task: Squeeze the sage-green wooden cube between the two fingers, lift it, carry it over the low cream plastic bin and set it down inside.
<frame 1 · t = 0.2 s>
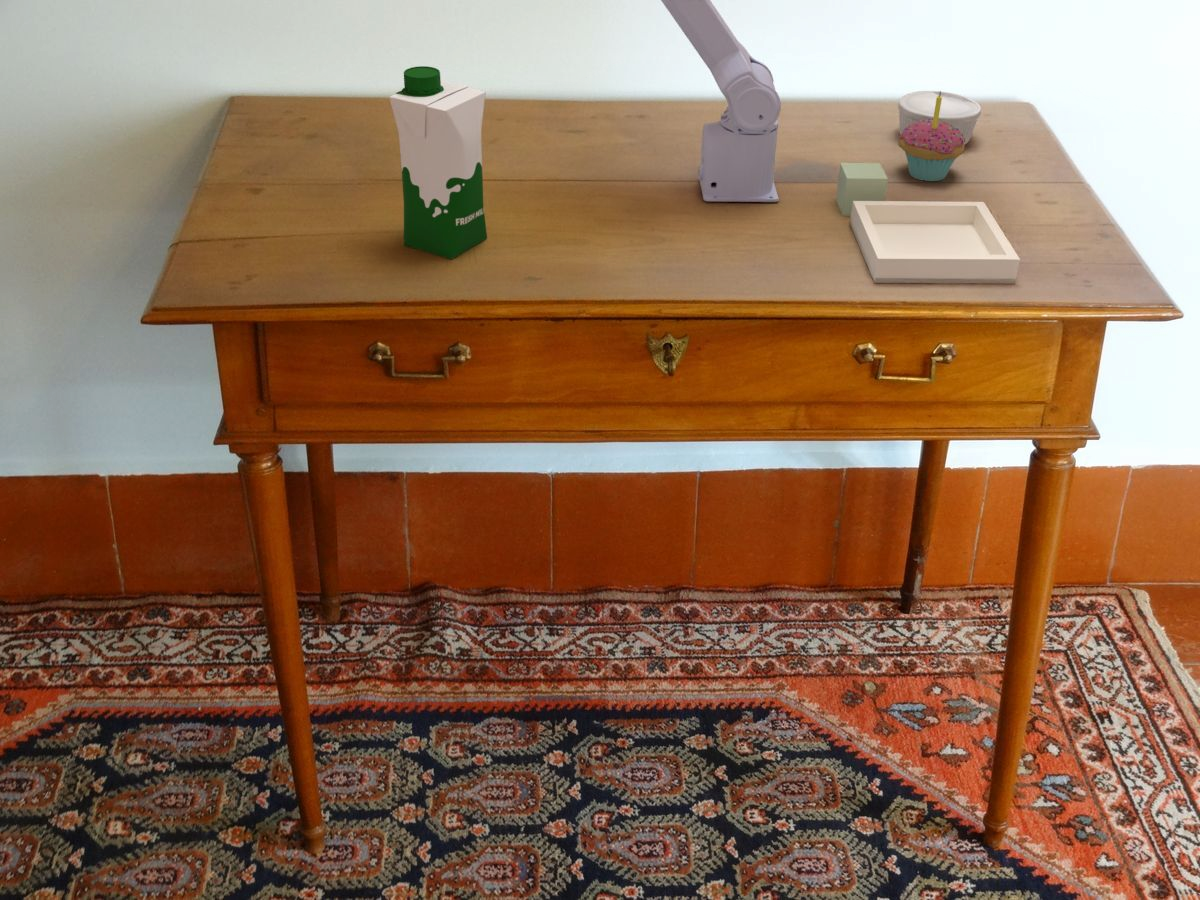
ramekin: (934, 141, 190), on the table
sage block: (858, 208, 170), on the table
cupcake: (926, 175, 179), on the table
milk carton: (446, 243, 159), on the table
cream bin: (929, 252, 159), on the table
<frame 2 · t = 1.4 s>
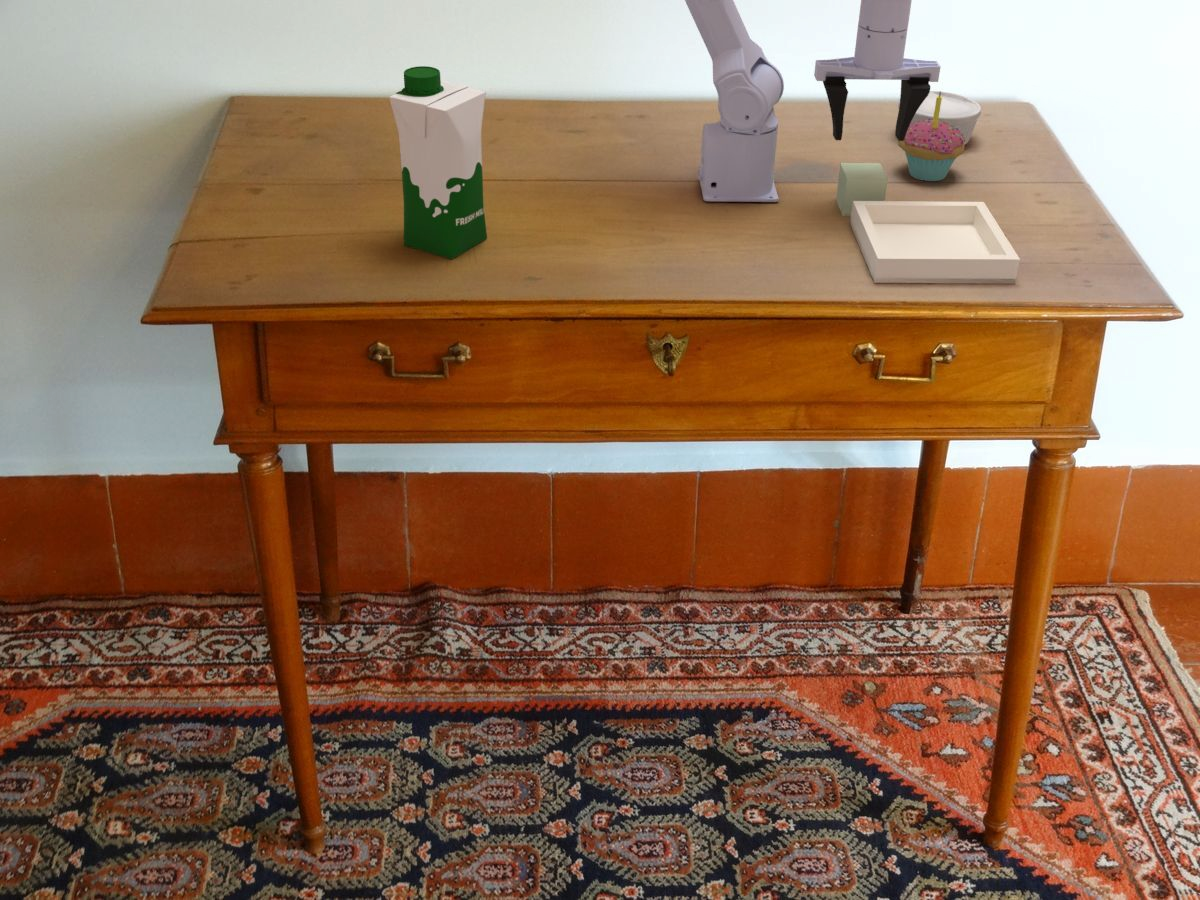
hand: (868, 137, 165), 9 cm above the table, tool pointing down, fingers open, 7 cm apart
nothing on the table moved.
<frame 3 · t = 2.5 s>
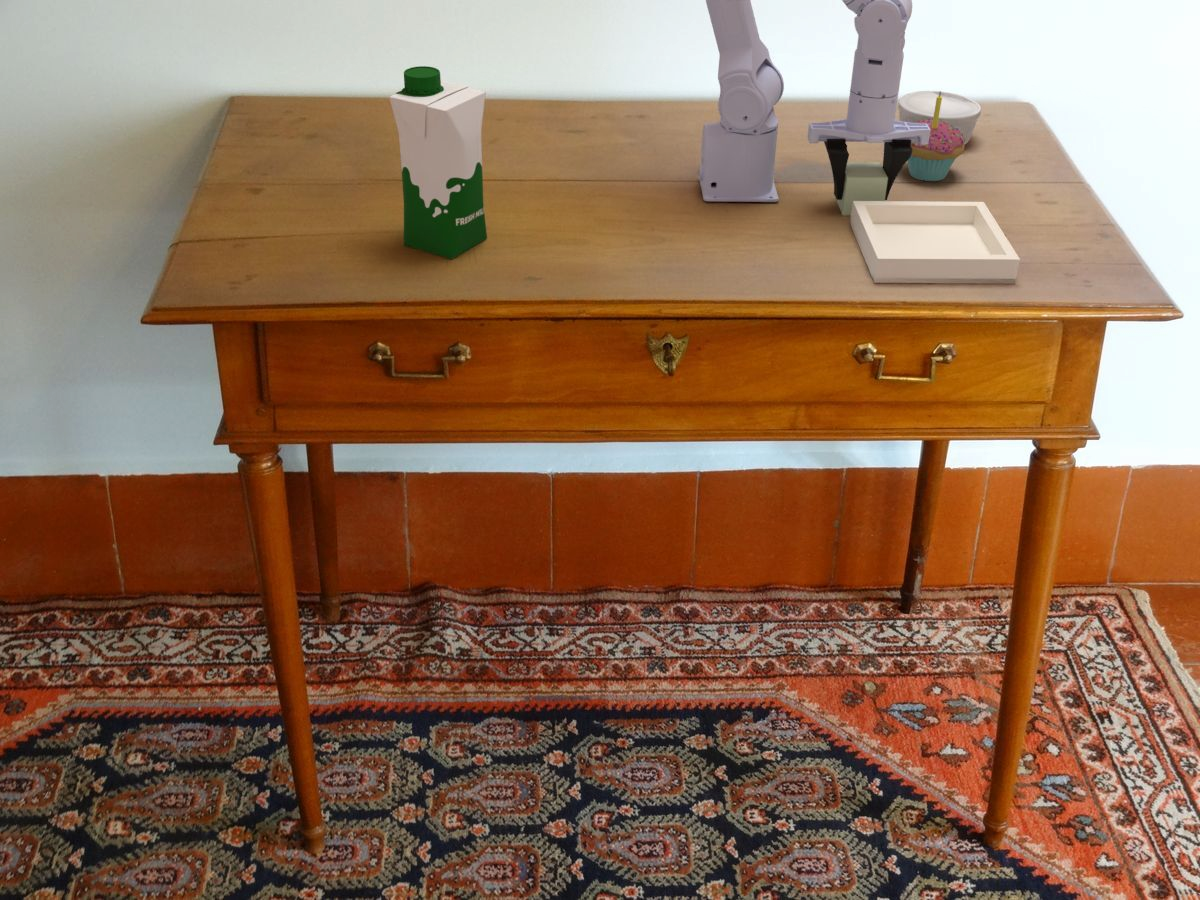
hand: (860, 196, 169), 1 cm above the table, tool pointing down, fingers closed on sage block, 5 cm apart
sage block: (858, 207, 170), on the table, touching gripper
everything else where it was.
when the fingers open (4 cm above the table, at t = 5.8 s): sage block drops 2 cm, resting on cream bin.
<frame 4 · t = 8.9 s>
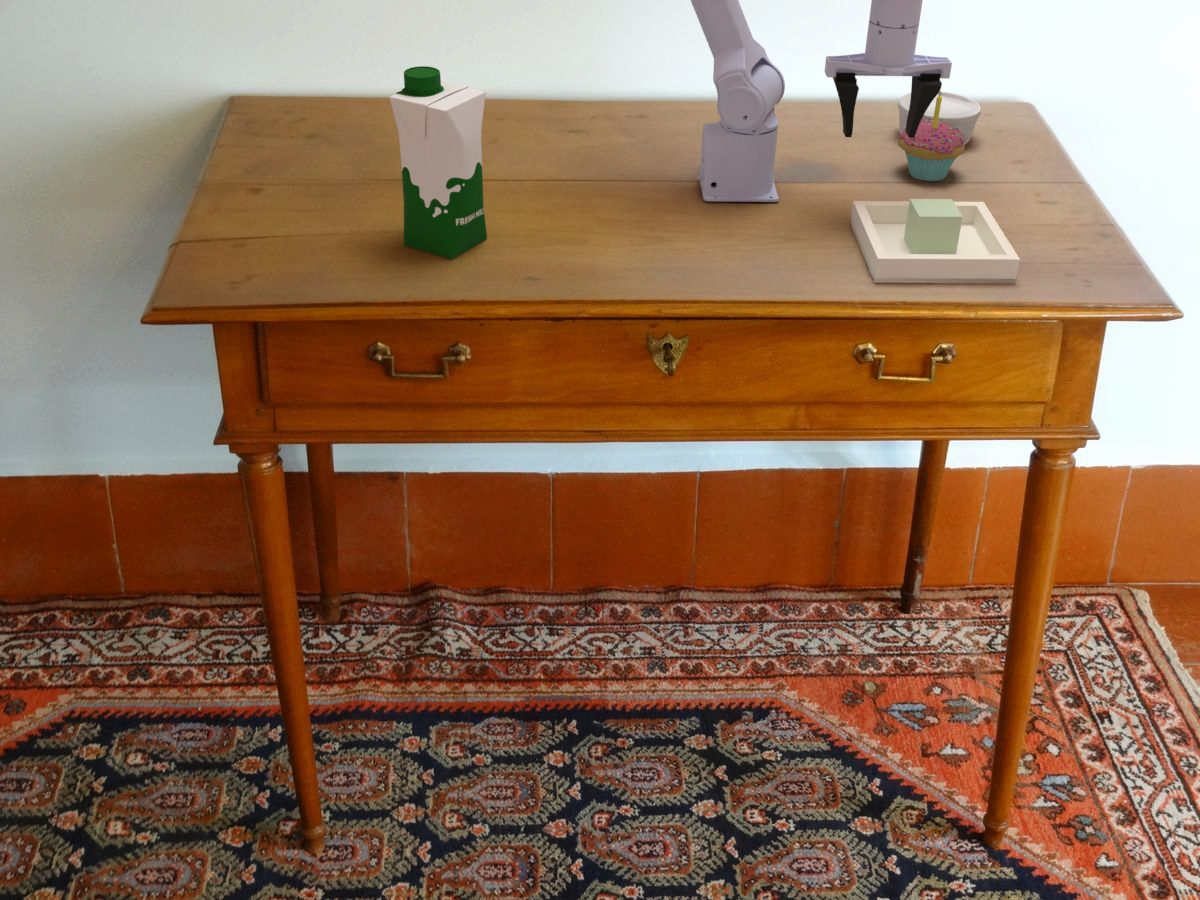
hand: (878, 134, 163), 10 cm above the table, tool pointing down, fingers open, 7 cm apart
sage block: (929, 247, 159), point 1 cm above the table, touching cream bin
everything else where it was.
at the end: sage block inside the target area on the cream bin (0.2 cm from its centre), point 0.6 cm above the cream bin's base; the gripper is holding nothing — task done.
